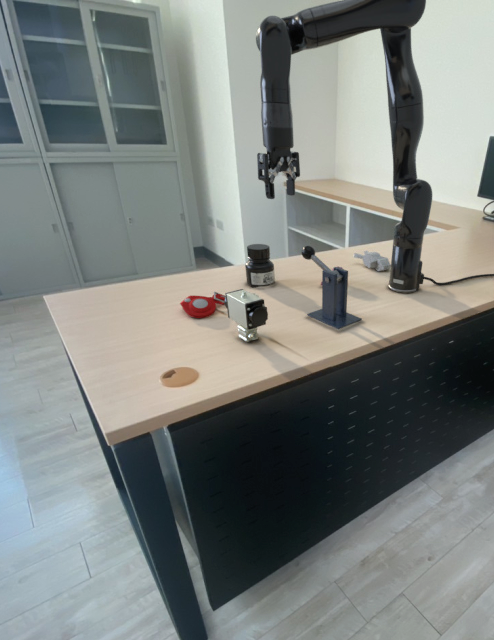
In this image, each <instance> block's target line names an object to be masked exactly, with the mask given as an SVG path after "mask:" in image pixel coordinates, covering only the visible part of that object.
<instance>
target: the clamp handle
mask: <svg viewBox="0 0 494 640" xmlns="http://www.w3.org/2000/svg"><path fill="white" fill-rule="evenodd" d="M301 256H302V258H303V259H304V260H308V261H310V260H311V261H312V262H313V263H314V264H316V265H317V266H318V267H319V268H320V269H322V271H323V270H327V271H330V272H333V273H335V274H337V284H340V283H341V280H342V278H343V276H342V275H341V274H340V273H339V272H338V271H337V270H333V271H332V269H331V268H330V267H329V266H327V265H326V264H325V263H324V262H323V261H322V260H321V259H320V258H319V257H318V256H317V255H316V250H315V248H314V247H313V246H311V245H305V246H304V247H302V249H301Z"/></svg>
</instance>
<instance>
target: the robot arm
mask: <svg viewBox="0 0 494 640" xmlns="http://www.w3.org/2000/svg"><path fill="white" fill-rule="evenodd" d="M426 4H427V0H337V1H332V2H327V3H323V4H319V5H315V6H311V7H307V8H304V9H302V10H299V11H298V12H296V13H295V14H293V15H288V16H284V17H280V16H276V15H267V16H266V17H265V18H263V20H262V21H261V22H260V24H259V25H258V26H257V30H256V32H255V43H256V46H257V47H256V48H257V49H258V51H259V53H260V64H261V65H260V68H261V72H260V73H261V74H260V82H259V85H260V87H259V88H260V99H261V108H260V109H261V110H260V113H261V114H260V117H261V133H262V145H263V147H265V148H266V151H265V153H263V152H258V153H257V154H256V158H257V162H256V163H257V178H258V181H261V182H263V183H264V189H265V191H264V192H265V197H266V199H268V200H275V198H276V195H275V183H274V182H275V179H276V177H277V176H278V175H279V173H283V174H284V176H285V178H286V179H285V180H286V182H285V183H286V195H287V196H290V197H291V196H295V194H296V180H297V178H300V176H301V167H300V153H299V152H298V151H291V149H293V148H294V146H295V145H294V144H295V143H294V118H293V116H294V115H293V109H292V108H293V107H292V92H291V91H292V90H291V89H292V88H291V69H292V68H291V66H292V55H295V54H298V53H301V52H303V51H308V50H315V49H318V48H322V47H326V46H331V45H333V44H337V43H340V42H343V41H345V40H347V39H350V38H352V37H355V36H358V35H362V34H364V33H368V32H371V31H376V30H380V31H379V32H380V37H381V43H382V48H383V55H384V62H385V79H386V92H387V108H388V121H389V128H390V129H389V130H390V143H391V154H392V166H393V167H392V196H393V201H394V203H395V205H396V206H397V207H398V208H399V209H401V210H402V216H401V221H400V222H398V223H396V224H395V225H394V229H393V238H392V239H393V240H392V248H391V251H392V252H391V260H390V261H391V262H390V264H391V268H390V269H389V281H388V289H389V290H391V291H392V292H396V293H399V294H400V293H402V294H409V293H414V292H416V291H419V290H420V285H423V284H424V280H426V281H429V282H431V283H433V284H434V285H436V286H448V285H451V284H457V283H460V282H464V281H466V280H472V279H477V278H485V277H494V273H486V274H476V275H471V276H466V277H463V278H459V279H455V280H450V281H445V282H437V281H436V280H434V279H433V278H432V277H428V276H425V274H424V273H423V272H422V269H423V261H422V260H421V258H422V251H423V243H424V236H425V232H426V229H427V227H428V224H429V220H430V215H431V210H432V206H433V205H432V204H433V188H432V186H431V184H430V183H429V182H428V181H427V180H424V179H421V178H418V173H417V153H418V152H417V151H418V149H419V148H418V147H419V144H420V140H421V138H422V133H423V130H424V124H425V123H424V122H425V114H424V112H425V111H424V110H425V109H424V95H423V89H422V85H421V82H420V78H419V75H418V73H417V69H416V66H415V63H414V58H413V50H412V28H413V27H414V26H416V25H417V24H418V23H419V22H420V21H421V19H422V17H423V15H424V13H425V10H426Z"/></svg>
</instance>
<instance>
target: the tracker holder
mask: <svg viewBox="0 0 494 640" xmlns="http://www.w3.org/2000/svg"><path fill="white" fill-rule="evenodd" d="M225 298H226V295H224V294H222V293H219V292H217V291H213V295H212V296H209V297H208V296H203V295H188V296H187V297H185V298H184V299H183V300H182V301H181V302H180V303H179V305H180V306H181V307H182V309H183V311H184V312H185V314H187V316H189V317H191V318H194V319H205V318H209V317H211V316H212V315H213V314H215V312H216V309H217V305H225V304H224V301H225Z"/></svg>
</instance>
